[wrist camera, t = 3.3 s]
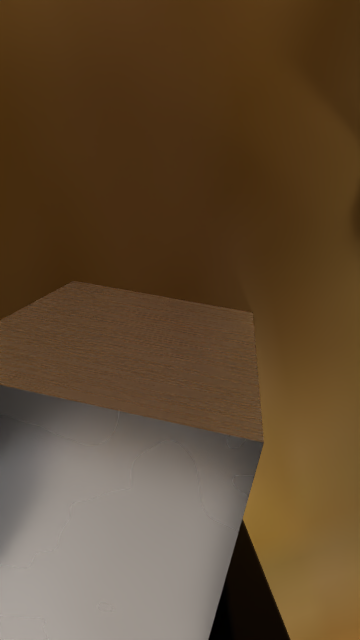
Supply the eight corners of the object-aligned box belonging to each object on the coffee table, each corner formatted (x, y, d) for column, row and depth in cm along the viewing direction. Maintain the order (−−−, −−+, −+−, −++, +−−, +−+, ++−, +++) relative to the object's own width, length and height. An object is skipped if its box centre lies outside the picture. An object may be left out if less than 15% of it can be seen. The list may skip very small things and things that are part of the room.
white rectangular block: (193, 577, 10) (167, 786, 7) (73, 545, 11) (-13, 724, 7) (252, 311, 7) (263, 442, 3) (74, 280, 8) (-85, 366, 4)
